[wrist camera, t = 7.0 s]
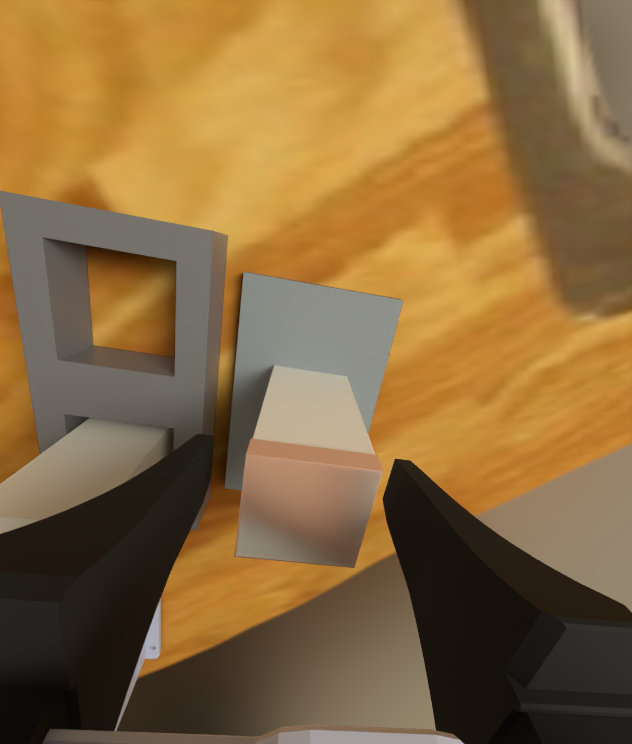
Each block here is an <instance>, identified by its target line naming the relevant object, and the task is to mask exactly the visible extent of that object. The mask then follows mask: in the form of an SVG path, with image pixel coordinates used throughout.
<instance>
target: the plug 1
mask: <svg viewBox="0 0 632 744" xmlns="http://www.w3.org/2000/svg"><path fill="white" fill-rule="evenodd" d="M173 447H174V428H167V427H159V426H151V425H144V424H136V423H128V422H121V421H113V420H105V419H97V418H89V419H88V420H86V421H85V422H84V423H82V424H81V425H80V426H78V427H77V428H75V429H74V430H73V431H71V432H70V433H69V434H67V435H66V436H65V437H63V438H62V439H60V440H59V441H58V442H56V443H55V444H54V445H52V446H51V447H50V448H48V449H47V450H46V451H44V452H43V453H41V454H40V455H39V456H37V457H36V458H35V459H33V460H32V461H31V462H29V463H28V464H27V465H25V466H24V467H22V468H21V469H20V470H18V471H17V472H16V473H14V474H13V475H12V476H10V477H9V478H8V479H6V480H5V481H3V482H2V483H1V484H0V534H1V533H4V532H8V531H11V530H14V529H17V528H20V527H23V526H26V525H28V524H31V523H34V522H37V521H39V520H42V519H45V518H48V517H50V516H53V515H55V514H58V513H60V512H63V511H65V510H68V509H70V508H72V507H75V506H77V505H79V504H81V503H83V502H86V501H88V500H90V499H92V498H95V497H97V496H99V495H101V494H103V493H105V492H107V491H109V490H111V489H113V488H115V487H117V486H119V485H121V484H123V483H124V482H126V481H128V480H130V479H132V478H133V477H135V476H137V475H138V474H140V473H141V472H143V471H145V470H146V469H148V468H149V467H151V466H153V465H154V464H156V463H157V462H159V461H160V460H161V459H163V458H164V457H166V456H167V455H169V454H170V453H172V452H173Z"/></svg>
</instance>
